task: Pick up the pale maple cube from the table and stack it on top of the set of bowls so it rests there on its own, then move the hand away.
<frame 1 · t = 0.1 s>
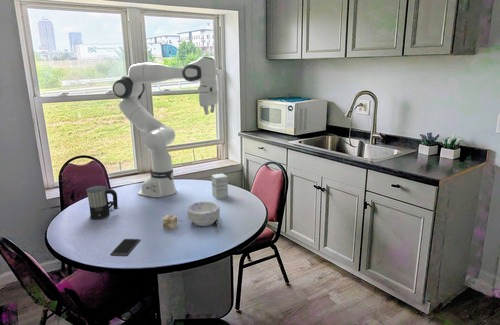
hand: (209, 113, 193), 48 cm above the table, tool pointing down, fingers open, 8 cm apart
supplement box: (220, 196, 205), on the table
maple block: (170, 226, 165), on the table
paper bowls: (204, 222, 170), on the table
milk frother: (102, 213, 183), on the table
cell phone: (126, 248, 147), on the table
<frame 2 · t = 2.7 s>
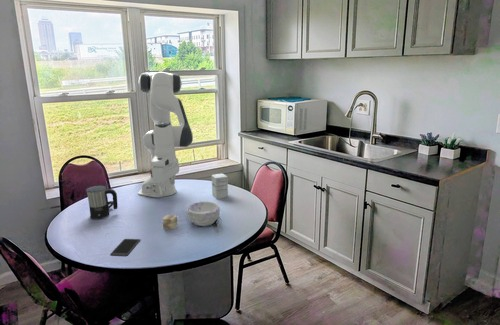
hand: (168, 187, 160), 19 cm above the table, tool pointing down, fingers open, 8 cm apart
nothing on the table moved.
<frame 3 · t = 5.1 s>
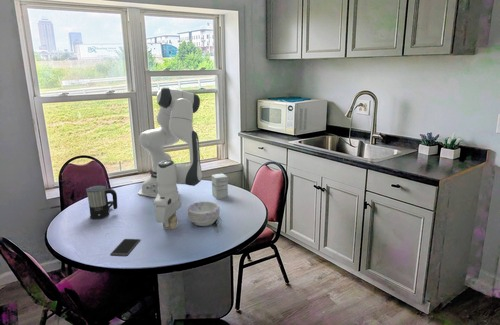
hand: (170, 223, 165), 2 cm above the table, tool pointing down, fingers closed on maple block, 5 cm apart
maple block: (170, 226, 165), on the table, touching gripper
everything else where it was.
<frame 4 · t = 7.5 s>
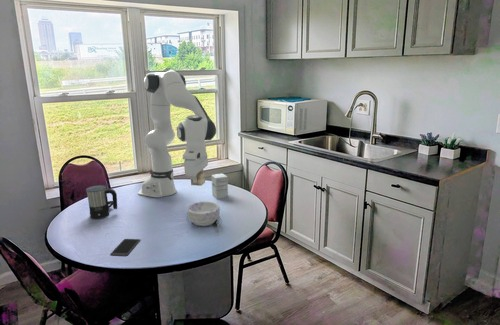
hand: (198, 180, 164), 21 cm above the table, tool pointing down, fingers closed on maple block, 5 cm apart
maple block: (198, 183, 164), point 20 cm above the table, touching gripper
everything else where it was.
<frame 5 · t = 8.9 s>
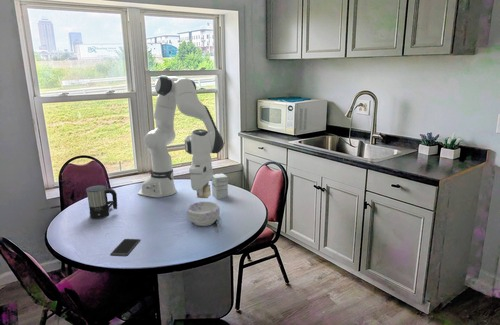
hand: (203, 193, 166), 15 cm above the table, tool pointing down, fingers closed on maple block, 5 cm apart
maple block: (203, 196, 167), point 13 cm above the table, touching gripper
everything else where it was.
when the fingers open (11 cm above the table, at t = 10.0 s): maple block drops 2 cm, resting on paper bowls.
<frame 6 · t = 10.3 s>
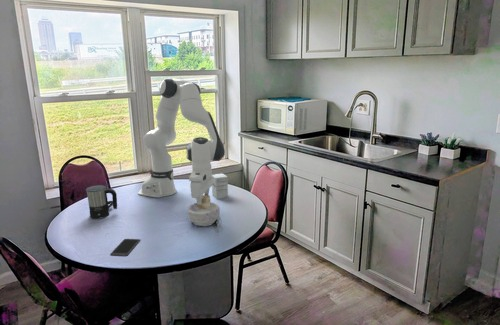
hand: (203, 200, 167), 11 cm above the table, tool pointing down, fingers open, 8 cm apart
maple block: (203, 206, 168), point 8 cm above the table, touching paper bowls
paper bowls: (204, 222, 170), on the table, touching maple block
everything else where it was.
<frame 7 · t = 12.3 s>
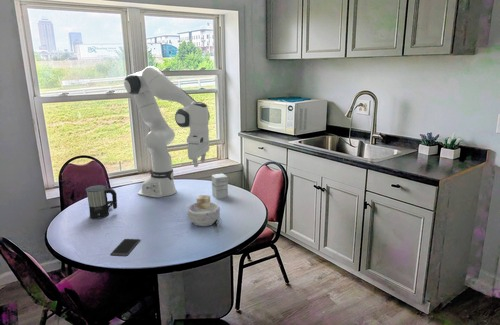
hand: (199, 164, 172), 27 cm above the table, tool pointing down, fingers open, 8 cm apart
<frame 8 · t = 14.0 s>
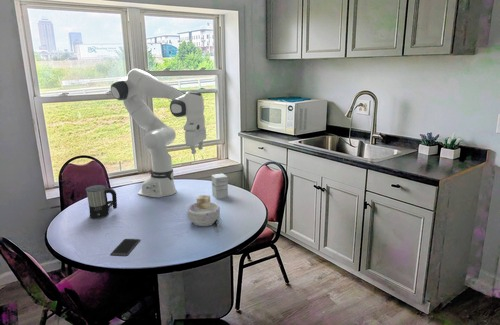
hand: (197, 151, 179), 31 cm above the table, tool pointing down, fingers open, 8 cm apart
at the end: maple block touching paper bowls; maple block 0.1 cm from the paper bowls (horizontally) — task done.
